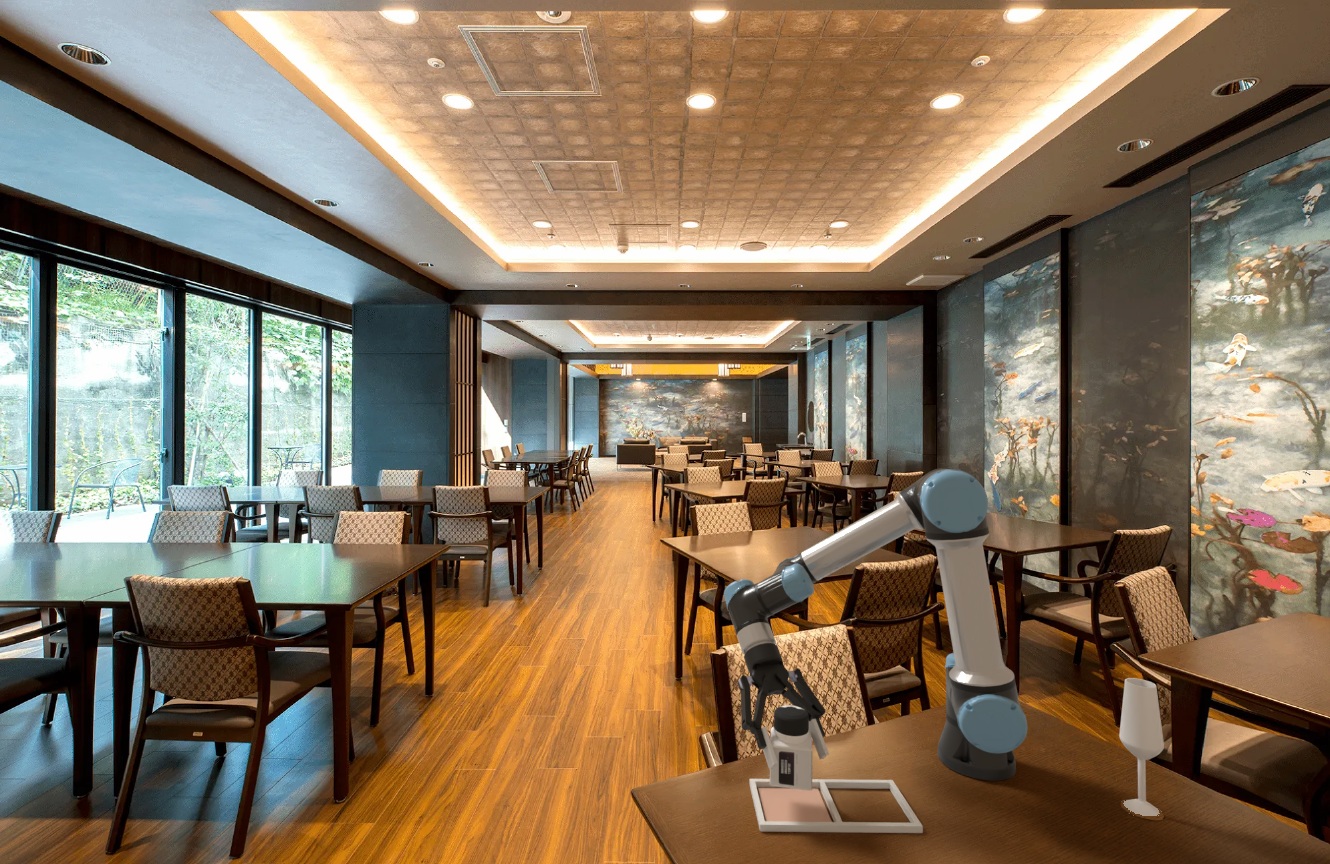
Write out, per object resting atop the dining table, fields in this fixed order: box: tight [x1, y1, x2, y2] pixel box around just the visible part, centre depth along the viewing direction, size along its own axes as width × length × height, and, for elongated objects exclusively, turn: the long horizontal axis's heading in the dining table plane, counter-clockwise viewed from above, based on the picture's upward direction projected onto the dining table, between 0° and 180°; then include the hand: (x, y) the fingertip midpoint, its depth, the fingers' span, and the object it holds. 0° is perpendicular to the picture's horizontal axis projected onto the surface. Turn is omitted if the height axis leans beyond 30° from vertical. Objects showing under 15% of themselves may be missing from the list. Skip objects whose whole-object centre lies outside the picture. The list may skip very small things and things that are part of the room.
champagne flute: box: [1119, 677, 1165, 816], centre depth 116 cm, size 7×7×24 cm
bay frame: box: [749, 778, 924, 834], centre depth 116 cm, size 29×15×1 cm, turn 89°
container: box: [769, 704, 813, 791], centre depth 117 cm, size 8×8×13 cm
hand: (799, 761), depth 114 cm, fingers closed on container, 10 cm apart
